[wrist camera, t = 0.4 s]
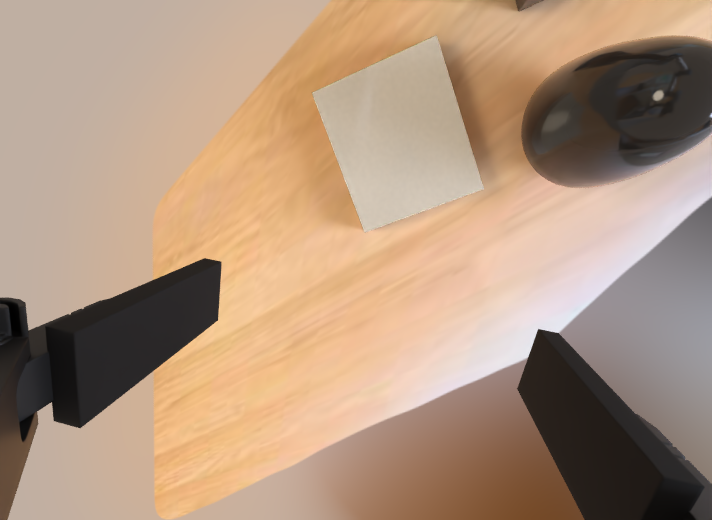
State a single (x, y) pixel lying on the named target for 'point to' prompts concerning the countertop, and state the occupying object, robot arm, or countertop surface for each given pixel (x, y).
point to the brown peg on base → (526, 3)
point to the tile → (399, 136)
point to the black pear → (620, 111)
